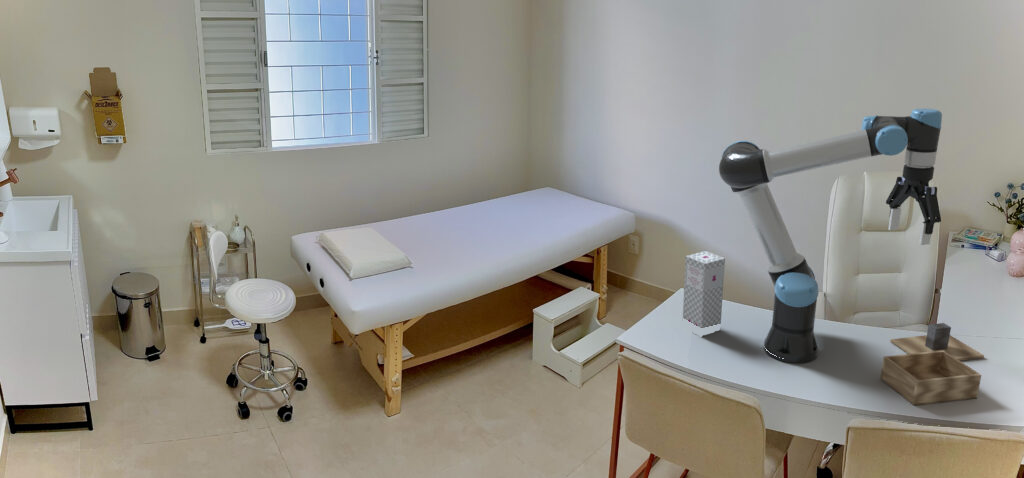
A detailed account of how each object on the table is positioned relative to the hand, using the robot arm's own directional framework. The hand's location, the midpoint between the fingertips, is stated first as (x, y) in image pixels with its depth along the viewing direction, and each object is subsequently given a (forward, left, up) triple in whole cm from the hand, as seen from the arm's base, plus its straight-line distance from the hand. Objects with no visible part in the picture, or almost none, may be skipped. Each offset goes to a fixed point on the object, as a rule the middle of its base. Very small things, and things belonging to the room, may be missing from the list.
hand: (908, 236), depth 207 cm
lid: (+10, -6, -34) cm, 36 cm away
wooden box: (-7, -25, -35) cm, 43 cm away
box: (-52, +22, -35) cm, 66 cm away
